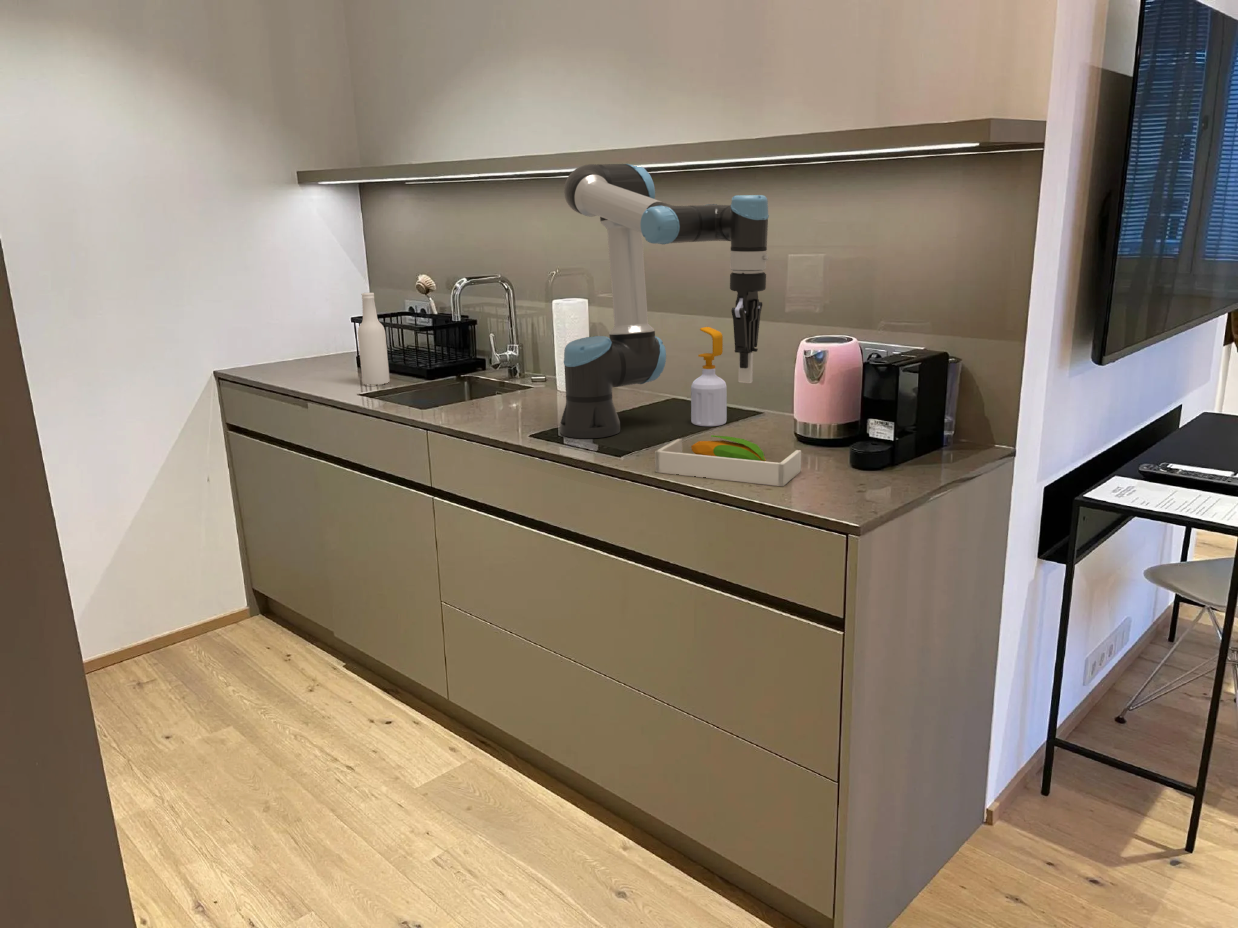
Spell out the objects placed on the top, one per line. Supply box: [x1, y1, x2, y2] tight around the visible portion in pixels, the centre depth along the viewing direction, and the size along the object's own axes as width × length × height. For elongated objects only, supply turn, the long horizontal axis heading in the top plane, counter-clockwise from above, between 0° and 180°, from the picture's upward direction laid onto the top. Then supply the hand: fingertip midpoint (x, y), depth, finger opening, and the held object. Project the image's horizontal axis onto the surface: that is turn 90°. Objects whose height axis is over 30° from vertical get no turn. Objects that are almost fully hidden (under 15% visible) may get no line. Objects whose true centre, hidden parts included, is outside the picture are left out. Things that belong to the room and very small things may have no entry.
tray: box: [654, 438, 802, 487], centre depth 195 cm, size 28×12×4 cm, turn 63°
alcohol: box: [357, 292, 391, 385], centre depth 306 cm, size 9×9×30 cm
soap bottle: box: [690, 326, 728, 427], centre depth 238 cm, size 9×9×25 cm
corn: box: [690, 434, 767, 462], centre depth 196 cm, size 7×8×20 cm
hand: (745, 382), depth 202 cm, fingers closed
